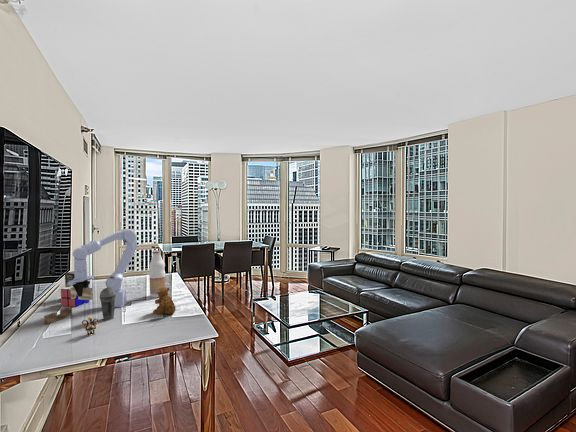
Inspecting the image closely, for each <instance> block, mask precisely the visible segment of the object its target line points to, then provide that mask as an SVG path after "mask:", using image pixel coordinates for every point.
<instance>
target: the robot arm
mask: <svg viewBox="0 0 576 432" xmlns="http://www.w3.org/2000/svg"><path fill="white" fill-rule="evenodd" d="M137 237H138V235H137V233H136V232H135V230H133V229H128V228H124V229H123V228H122V229H121V230H118V231H115V232H113V233H112V234H110V235H108V236H106V237H103V238H102V239H100V240H90V241H89V243H87V244H84V245H83V244H82V245H81V246H80V247H76V248H75V249H74V250H73V251H72V256H73V271H74V275H75V278H74V280H71V281H69V282H68V285H70V286H73V287H74V288H75V290H76V292H77V295H78V296H82V289H83V288H88V286H89V285H90V283H91V280H94V275H88V267H87V266H88V264H87V263H88V262H87V256H90V255H92V254H94V253H96V252H98V251H101V249H102V247H103V246H105V245H108V244H110V243H112V242H115V241H117V240H118V241H123V242H124V244H125V246H126V247H125V249H124V251H123V253H122V255H121V257H120V258H119V262H118V263H117V265H116V267H115V270H114V271H113V272H112V273H111V275H110V276H109V277H107V279H108V288H112V289H113V290H114V291H115V294H116V297H115V307H114V308H122V307H124V306H125V305H126V304H127V303H128V302H127V291H126V289H122V284H123V283H122V282H123V280H124V274H125V272H126V270H127V268H128V266H129V264H130V262H131V260H132V257H133V256H134V254H135V252H136V250H137V248H138V244H137V243H138V241H137V240H138V239H137ZM107 279H106V280H105V286H106V287H107Z"/></svg>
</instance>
